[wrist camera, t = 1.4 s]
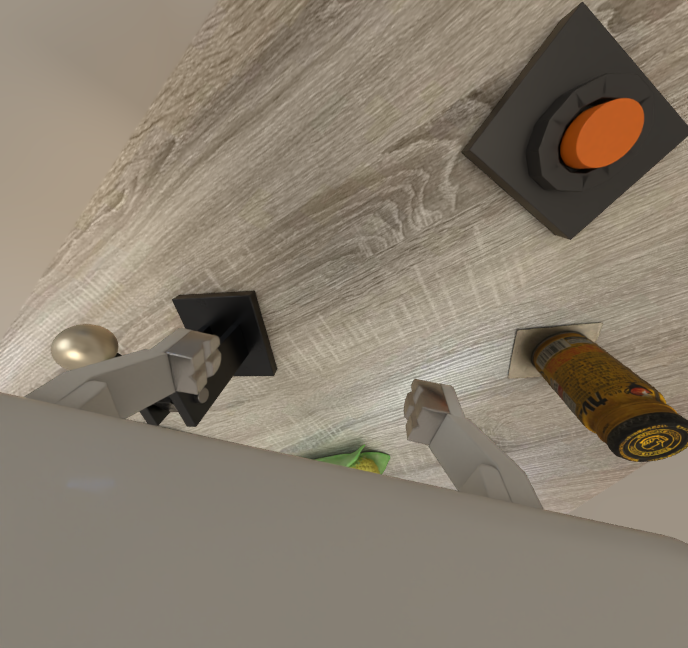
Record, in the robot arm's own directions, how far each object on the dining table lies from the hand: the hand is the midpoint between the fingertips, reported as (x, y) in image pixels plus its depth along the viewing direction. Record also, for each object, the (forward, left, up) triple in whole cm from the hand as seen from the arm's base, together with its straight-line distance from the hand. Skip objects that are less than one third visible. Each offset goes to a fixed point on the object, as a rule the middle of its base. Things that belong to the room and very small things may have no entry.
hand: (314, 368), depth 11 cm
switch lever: (-10, -14, -7) cm, 19 cm away
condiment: (+26, +4, -19) cm, 32 cm away
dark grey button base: (+9, +17, -19) cm, 27 cm away
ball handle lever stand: (-7, -18, -19) cm, 27 cm away
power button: (+9, +17, -15) cm, 24 cm away
